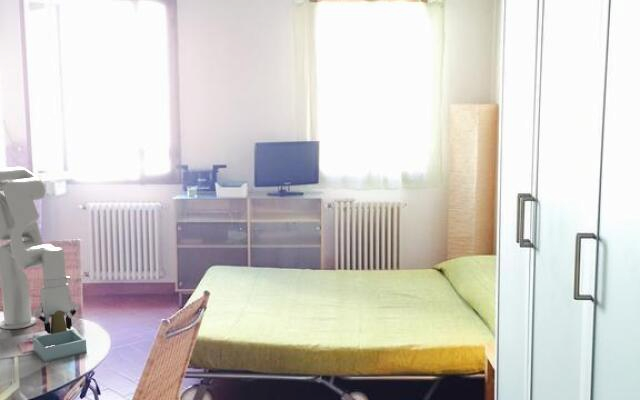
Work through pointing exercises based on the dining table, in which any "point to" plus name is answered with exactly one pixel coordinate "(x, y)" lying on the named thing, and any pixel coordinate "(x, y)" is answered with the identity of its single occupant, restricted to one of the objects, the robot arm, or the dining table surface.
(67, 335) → the bin
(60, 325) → the cork
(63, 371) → the dining table surface
